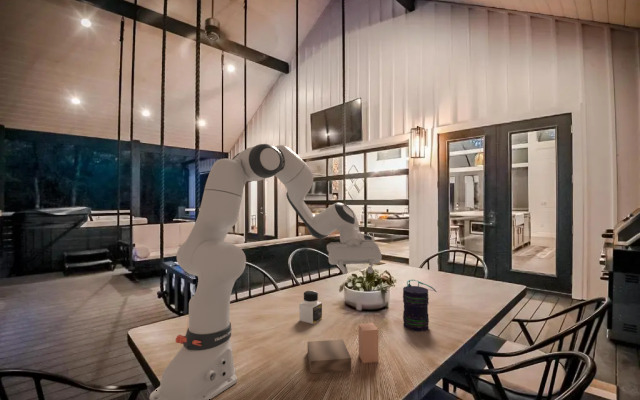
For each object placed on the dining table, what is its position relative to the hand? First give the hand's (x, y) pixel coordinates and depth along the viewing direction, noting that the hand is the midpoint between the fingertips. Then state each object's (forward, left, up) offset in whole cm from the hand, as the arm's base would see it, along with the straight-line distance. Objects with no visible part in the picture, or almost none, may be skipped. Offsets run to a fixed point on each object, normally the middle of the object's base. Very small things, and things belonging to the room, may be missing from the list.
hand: (358, 272), depth 105 cm
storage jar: (+20, -18, -25) cm, 37 cm away
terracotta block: (-11, -6, -24) cm, 27 cm away
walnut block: (-17, +5, -25) cm, 31 cm away
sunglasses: (+72, -16, -25) cm, 78 cm away
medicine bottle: (+10, +24, -25) cm, 36 cm away
